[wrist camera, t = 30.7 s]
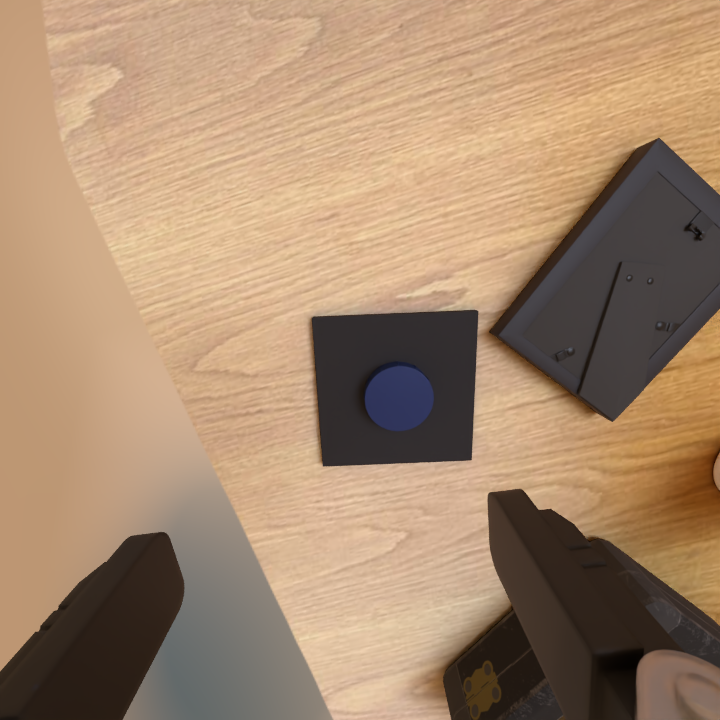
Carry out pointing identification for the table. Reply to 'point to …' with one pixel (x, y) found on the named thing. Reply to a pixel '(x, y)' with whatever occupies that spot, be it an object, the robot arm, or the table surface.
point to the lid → (398, 396)
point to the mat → (384, 345)
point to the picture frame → (623, 284)
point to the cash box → (521, 667)
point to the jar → (717, 472)
